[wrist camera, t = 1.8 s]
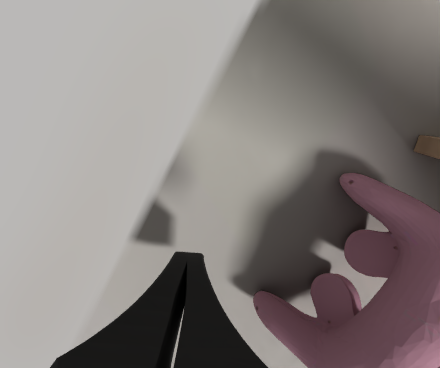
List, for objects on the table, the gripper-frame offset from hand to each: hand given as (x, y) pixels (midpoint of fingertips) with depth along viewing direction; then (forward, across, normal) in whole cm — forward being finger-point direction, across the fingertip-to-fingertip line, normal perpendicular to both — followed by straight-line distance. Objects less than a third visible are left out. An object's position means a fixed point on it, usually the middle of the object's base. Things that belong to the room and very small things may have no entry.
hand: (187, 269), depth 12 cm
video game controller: (+2, -8, 0) cm, 8 cm away
